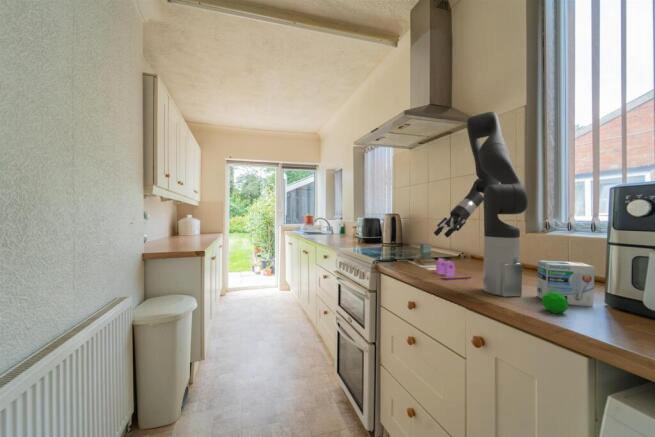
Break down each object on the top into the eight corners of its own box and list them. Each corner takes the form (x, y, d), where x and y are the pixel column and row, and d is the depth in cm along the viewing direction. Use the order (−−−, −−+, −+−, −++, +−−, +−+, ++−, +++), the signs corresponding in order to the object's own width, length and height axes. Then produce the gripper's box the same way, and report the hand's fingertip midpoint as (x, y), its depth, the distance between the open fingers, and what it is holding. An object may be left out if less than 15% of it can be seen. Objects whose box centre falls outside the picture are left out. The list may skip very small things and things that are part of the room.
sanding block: (437, 265, 120) (437, 245, 119) (424, 265, 119) (424, 245, 118) (425, 261, 129) (425, 242, 129) (413, 261, 128) (414, 242, 128)
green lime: (569, 312, 67) (569, 293, 67) (566, 317, 64) (567, 297, 64) (543, 307, 71) (543, 289, 71) (539, 311, 67) (540, 292, 67)
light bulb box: (546, 303, 74) (547, 263, 74) (535, 296, 81) (536, 259, 80) (595, 307, 71) (596, 266, 71) (579, 299, 77) (580, 261, 77)
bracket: (446, 280, 99) (446, 261, 99) (436, 277, 104) (436, 259, 104) (474, 278, 103) (474, 260, 103) (463, 275, 108) (463, 257, 108)
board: (453, 272, 112) (453, 269, 112) (428, 273, 110) (428, 269, 110) (428, 263, 132) (428, 260, 132) (406, 264, 130) (406, 261, 130)
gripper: (449, 205, 133) (427, 228, 132) (468, 204, 119) (444, 230, 117) (458, 216, 134) (437, 239, 132) (479, 216, 120) (455, 242, 118)
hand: (440, 235), depth 125 cm, fingers open, 8 cm apart
